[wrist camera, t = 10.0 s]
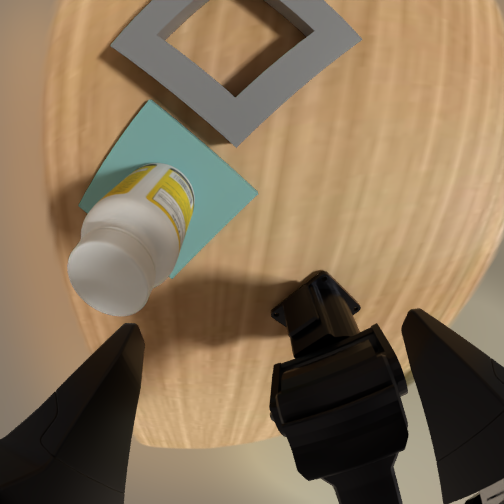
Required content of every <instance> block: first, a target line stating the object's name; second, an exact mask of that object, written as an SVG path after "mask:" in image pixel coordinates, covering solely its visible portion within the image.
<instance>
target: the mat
mask: <svg viewBox="0 0 504 504" xmlns="http://www.w3.org/2000/svg"><path fill="white" fill-rule="evenodd" d="M151 163H163V164H168V165H171V166H173V167H175V168H177V169H178V170H179V171H181V172H182V173H183V174H184V175H185V176H186V177H187V179H188V180H189V182H190V184H191V185H192V188H193V191H194V197H195V204H194V210H193V214H192V217H191V220H190V223H189V226H188V229H187V232H186V235H185V238H184V241H183V244H182V247H181V250H180V253H179V256H178V259H177V262H176V265H175V267H174V269H173V271H172V273H171V274H170V276H169V277H170V278H171V279H173V278H174V277H175V276H176V274H177V273H178V272H179V271H180V270H181V269H182V268H183V267H184V266H185V265H186V264H187V263H188V262H189V261H190V260H191V259H192V258H193V257H194V256H195V255H196V254H197V253H198V252H199V251H200V250H201V249H202V248H203V247H204V246H205V245H206V244H207V243H208V242H209V241H210V240H211V239H212V238H213V237H214V236H215V235H216V234H217V233H218V232H219V231H220V230H221V229H222V228H223V227H224V226H225V225H226V224H227V223H228V222H229V221H230V220H231V219H232V218H234V217H235V216H236V215H237V214H238V213H239V212H240V211H241V210H242V209H243V208H244V207H245V206H246V205H247V204H248V203H249V202H250V201H251V200H252V199H253V198H254V197H255V196H256V195H258V191H257V190H255V189H254V188H253V187H252V186H251V185H250V184H249V183H248V182H247V181H246V180H245V179H243V178H242V177H241V176H240V175H239V174H238V173H237V172H236V171H235V170H234V169H232V168H231V167H230V166H229V165H228V164H227V163H226V162H225V161H223V160H222V159H221V158H220V157H219V156H218V155H217V154H216V153H214V152H213V151H212V150H211V149H210V148H209V147H208V146H206V145H205V144H204V143H203V142H202V141H201V140H199V139H198V138H197V137H196V136H195V135H194V134H192V133H191V132H190V131H189V130H188V129H187V128H185V127H184V126H183V125H182V124H181V123H179V122H178V121H177V120H176V119H175V118H173V117H172V116H171V115H170V114H169V113H167V112H166V111H165V110H164V109H162V108H161V107H160V106H159V105H158V104H156V103H155V102H154V101H153V100H149V101H148V102H147V103H146V104H145V105H144V107H143V108H142V109H141V110H140V112H139V113H138V114H137V116H136V117H135V118H134V120H133V121H132V122H131V123H130V125H129V126H128V128H127V129H126V130H125V132H124V133H123V134H122V136H121V137H120V139H119V140H118V141H117V143H116V144H115V146H114V147H113V149H112V150H111V152H110V153H109V155H108V156H107V158H106V159H105V161H104V162H103V164H102V166H101V167H100V169H99V170H98V172H97V174H96V175H95V177H94V179H93V180H92V182H91V184H90V185H89V187H88V189H87V191H86V192H85V194H84V196H83V198H82V200H81V202H80V203H79V205H78V206H79V207H80V208H81V209H83V210H84V211H85V212H86V213H87V214H88V213H89V211H90V210H91V209H92V208H93V207H94V205H95V204H96V203H97V202H98V201H100V200H101V199H102V198H103V197H104V196H105V195H106V194H107V193H109V192H110V191H111V190H112V189H113V188H114V187H115V186H117V185H118V184H119V183H120V182H121V181H123V180H124V179H125V178H126V177H127V176H129V175H130V174H131V173H132V172H134V171H135V170H136V169H138V168H139V167H142V166H144V165H147V164H151Z"/></svg>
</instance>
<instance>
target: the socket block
mask: <svg viewBox="0 0 504 504" xmlns="http://www.w3.org/2000/svg"><path fill="white" fill-rule="evenodd" d="M208 1H209V0H152V1H151V2H150V3H149V4H148V5H147V6H146V7H145V8H144V9H143V10H142V11H141V12H140V13H139V14H138V15H137V16H136V17H135V18H134V19H133V20H132V21H131V22H130V23H129V24H128V25H127V27H126V28H125V29H124V30H123V31H122V32H121V33H120V34H119V36H118V37H117V38H116V39H115V40H114V41H113V43H112V44H111V45H110V46H111V47H113V48H114V49H115V50H117V51H118V52H120V53H121V54H122V55H124V56H125V57H127V58H128V59H129V60H131V61H132V62H133V63H135V64H136V65H137V66H139V67H140V68H141V69H143V70H144V71H145V72H147V73H148V74H149V75H151V76H152V77H153V78H154V79H156V80H157V81H158V82H160V83H161V84H162V85H163V86H165V87H166V88H167V89H168V90H170V91H171V92H172V93H173V94H175V95H176V96H177V97H178V98H179V99H181V100H182V101H183V102H184V103H186V104H187V105H188V106H189V107H190V108H192V109H193V110H194V111H195V112H196V113H197V114H199V115H200V116H201V117H202V118H203V119H204V120H206V121H207V122H208V123H209V124H210V125H211V126H213V127H214V128H215V129H216V130H217V131H218V132H219V133H221V134H222V135H223V136H224V137H225V138H226V139H227V140H228V141H229V142H231V143H232V144H233V145H234V146H235V147H236V148H237V147H238V146H239V145H240V144H241V143H242V142H243V141H244V140H245V139H246V138H247V137H248V136H249V135H250V134H251V133H252V132H253V131H254V130H255V129H256V128H257V127H258V126H259V125H260V124H261V123H262V122H263V121H265V120H266V119H267V118H268V117H269V116H270V115H271V114H272V113H273V112H274V111H275V110H277V109H278V108H279V107H280V106H281V105H282V104H283V103H284V102H285V101H287V100H288V99H289V98H290V97H291V96H292V95H293V94H295V93H296V92H297V91H298V90H299V89H300V88H302V87H303V86H304V85H305V84H306V83H307V82H309V81H310V80H311V79H312V78H313V77H315V76H316V75H317V74H318V73H320V72H321V71H322V70H323V69H324V68H326V67H327V66H328V65H330V64H331V63H332V62H333V61H335V60H336V59H337V58H338V57H340V56H341V55H342V54H344V53H345V52H346V51H348V50H349V49H350V48H352V47H353V46H354V45H356V44H357V43H358V42H360V41H361V40H362V38H361V37H360V36H359V35H358V34H357V33H356V32H355V31H354V30H353V29H352V27H351V26H350V25H349V24H348V23H347V22H346V21H345V20H344V19H343V18H342V17H341V16H340V15H339V14H338V13H337V12H336V11H335V10H334V9H333V8H332V7H330V6H329V5H328V4H327V3H326V2H325V1H324V0H264V1H265V2H267V3H268V4H269V5H270V6H272V7H273V8H274V9H275V10H277V11H278V12H279V13H280V14H282V15H283V16H284V17H285V18H286V19H287V20H289V21H290V22H291V23H292V24H293V25H294V26H295V27H296V28H298V29H299V30H300V31H301V32H302V33H303V34H304V35H305V36H306V38H305V39H303V40H302V41H301V42H299V43H298V44H297V45H296V46H294V47H293V48H292V49H291V50H289V51H288V52H287V53H286V54H284V55H283V56H282V57H281V58H279V59H278V60H277V61H276V62H275V63H273V64H272V65H271V66H270V67H269V68H268V69H266V70H265V71H264V72H263V73H262V74H261V75H260V76H258V77H257V78H256V79H255V80H254V81H253V82H252V83H251V84H250V85H248V86H247V87H246V88H245V89H244V90H243V91H242V92H241V93H240V94H239V95H238V96H237V97H236V98H235V97H234V96H233V95H232V94H231V93H230V92H229V91H227V90H226V89H225V88H224V87H223V86H222V85H220V84H219V83H218V82H217V81H216V80H215V79H213V78H212V77H211V76H210V75H209V74H207V73H206V72H205V71H204V70H202V69H201V68H200V67H199V66H197V65H196V64H195V63H194V62H192V61H191V60H190V59H188V58H187V57H186V56H185V55H183V54H182V53H181V52H179V51H178V50H177V49H175V48H174V47H173V46H171V45H170V44H168V43H167V42H166V41H165V40H166V39H167V38H168V37H169V36H170V35H171V34H172V33H173V32H174V31H175V30H176V29H177V28H178V27H179V26H180V25H181V24H182V23H184V22H185V21H186V20H187V19H188V18H189V17H190V16H191V15H192V14H194V13H195V12H196V11H197V10H198V9H199V8H201V7H202V6H203V5H204V4H205V3H207V2H208Z"/></svg>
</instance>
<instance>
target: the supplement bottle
mask: <svg viewBox="0 0 504 504" xmlns="http://www.w3.org/2000/svg"><path fill="white" fill-rule="evenodd" d="M194 204H195V197H194V191H193V188H192V185H191V184H190V182H189V180H188V179H187V177H186V176H185V175H184V174H183V173H182V172H181V171H179V170H178V169H177V168H175V167H173V166H171V165H168V164H163V163H151V164H147V165H144V166H142V167H139V168H138V169H136V170H135V171H134V172H132V173H131V174H130V175H129V176H127V177H126V178H125V179H124V180H123V181H121V182H120V183H119V184H118V185H117V186H115V187H114V188H113V189H112V190H111V191H110V192H109V193H107V194H106V195H105V196H104V197H103V198H102V199H101V200H100V201H98V202H97V203H96V204H95V205H94V207H93V208H92V209H91V210H90V211H89V213H88V214H87V216H86V217H85V220H84V222H83V225H82V229H81V240H80V242H79V243H78V244H77V246H76V247H75V248H74V249H73V251H72V252H71V254H70V256H69V259H68V266H67V267H68V275H69V279H70V282H71V284H72V286H73V288H74V290H75V291H76V292H77V294H78V295H79V296H80V297H81V298H82V299H83V300H84V301H85V302H86V303H87V304H88V305H90V306H91V307H93V308H94V309H96V310H98V311H100V312H102V313H105V314H108V315H112V316H128V315H132V314H135V313H137V312H138V311H140V310H141V309H142V308H143V307H144V306H145V304H146V303H147V301H148V298H149V296H150V293H151V291H152V289H153V288H155V287H157V286H159V285H160V284H161V283H163V282H164V281H165V280H166V279H167V278H168V277H169V276H170V274H171V273H172V271H173V269H174V267H175V265H176V262H177V259H178V256H179V253H180V250H181V247H182V244H183V241H184V238H185V235H186V232H187V229H188V226H189V223H190V220H191V217H192V214H193V210H194Z"/></svg>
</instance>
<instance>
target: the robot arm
mask: <svg viewBox="0 0 504 504" xmlns="http://www.w3.org/2000/svg"><path fill="white" fill-rule="evenodd" d="M324 276H326V277H325V278H322V277H324ZM355 307H356V308H355ZM360 309H361V307H360V305H359V303H358V302H357V301H356V300H355V299H354V298H353V297H352V296H351V295H350V294H349V293H348V292H347V291H346V290H345V289H344V288H343V287H342V286H341V285H340V284H339V283H338V282H337V281H336V280H335V279H334V278H333V277H332V276H331V275H330V274H329V273H328V272H325V271H323V272H321V273H319V274H318V275H317V276H315V277H314V278H313V279H312V280H310V281H309V282H308V283H306V284H305V285H304V286H302V287H301V288H300V289H298V290H297V291H296V292H295V293H293V294H292V295H291V296H289V297H288V298H287V299H285V300H284V301H283V302H282V303H280V304H279V305H278V306H276V307H275V308H274V309H272V310H271V317H272V318H274V319H275V320H276V321H278V322H279V323H281V324H282V325H284V326H285V327H287V330H288V335H289V337H290V340H291V346H292V351H293V356H294V358H295V359H293V360H290V361H287V362H284V363H278V364H275V365H274V368H273V374H272V385H271V395H270V406H269V408H270V411H271V412H270V418H271V420H272V421H274V422H275V424H276V426H277V428H278V430H279V431H280V433H281V434H282V435H283V436H284V437H287V439H288V442H289V444H290V447H291V450H292V453H293V456H294V460H295V463H296V467H297V470H298V472H299V473H300V474H301V475H302V476H303V477H304V478H305V479H307V480H308V481H311V480H314V479H319V478H321V479H322V480H324V481H326V482H327V483H329V484H330V485H332V486H333V487H334V490H335V492H336V495H337V498H338V501H339V504H402V499H401V495H400V491H399V487H398V483H397V479H396V475H395V471H394V467H393V466H394V463H395V461H396V458H397V456H398V453H399V452H401V451H403V450H404V449H405V447H406V443H407V439H408V430H407V427H408V422H407V418H406V415H405V411H404V408H403V405H402V401H401V398H400V397H401V396H403V395H405V394H407V393H408V389H407V384H406V380H405V377H404V374H403V371H402V368H401V365H400V363H399V361H398V358H397V356H396V354H395V352H394V351H393V349H392V347H391V345H390V344H389V342H388V340H387V339H386V337H385V335H384V334H383V332H382V330H381V329H380V327H379V326H378V324H377V323H376V324H374V325H372V326H371V328H368V329H366V330H364V331H362V332H360V331H359V329H358V326H357V324H356V322H355V319H354V317H353V315H354V314H356V313H357V312H358V311H359V310H360ZM275 313H277V314H275ZM401 331H402V336H403V339H404V343H405V347H406V351H407V355H408V359H409V364H410V367H411V371H412V374H413V377H414V380H415V383H416V386H417V389H418V392H419V395H420V399H421V402H422V406H423V409H424V413H425V416H426V420H427V424H428V427H429V431H430V435H431V439H432V444H433V447H434V453H435V457H436V461H437V468H438V473H439V479H440V484H441V491H442V497H443V504H449V503H452V502H454V501H457V500H459V499H462V498H464V497H467V496H469V495H471V494H474V493H476V492H478V491H479V493H477V494H476V495H474V496H473V497H471V498H470V499H468V500H467V501H466V502H465V504H504V367H503V366H501V365H500V364H498V363H497V362H496V361H494V360H493V359H490V357H489V356H488V355H486V354H485V353H484V352H482V351H481V350H479V349H478V348H477V347H475V346H474V345H472V344H471V343H470V342H468V341H467V340H465V339H464V338H463V337H461V336H460V335H458V334H457V333H456V332H454V331H453V330H451V329H450V328H448V327H447V326H445V325H444V324H443V323H441V322H440V321H438V320H437V319H435V318H434V317H432V316H431V315H429V314H428V313H426V312H425V311H423V310H422V309H420V308H417V309H411V310H410V311H409V312H408V314H407V316H406V318H405V320H404V322H403V325H402V329H401ZM144 349H145V343H144V339H143V337H142V334H141V331H140V329H139V327H138V325H137V324H135V323H125V324H123V325H122V326H121V327H120V328H119V329H118V330H117V331H116V332H115V333H114V334H113V335H112V336H111V337H110V338H109V339H108V340H106V341H105V342H104V343H103V344H102V345H101V346H100V347H99V348H98V349H97V350H96V351H95V352H94V353H93V354H92V355H91V356H90V357H89V358H88V359H87V360H86V361H85V362H84V363H83V364H82V365H81V366H80V367H79V368H78V369H77V370H76V371H75V372H74V373H73V374H72V375H71V376H70V377H69V378H68V379H67V380H66V381H65V382H64V383H63V384H62V385H61V386H60V387H59V388H58V389H57V390H56V392H54V393H53V394H52V395H51V396H50V397H49V398H48V399H47V400H46V401H45V402H44V403H43V404H42V405H41V406H40V407H39V408H38V409H37V410H36V411H35V412H33V413H32V414H31V415H30V416H29V417H28V418H27V419H25V420H24V421H23V422H22V423H21V424H20V425H18V426H17V427H16V428H15V429H14V430H13V431H11V432H10V433H9V434H8V435H7V436H5V437H4V438H2V439H0V504H124V493H125V483H126V475H127V466H128V459H129V452H130V444H131V438H132V432H133V426H134V420H135V415H136V409H137V404H138V399H139V394H140V388H141V379H142V368H143V358H144Z"/></svg>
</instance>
